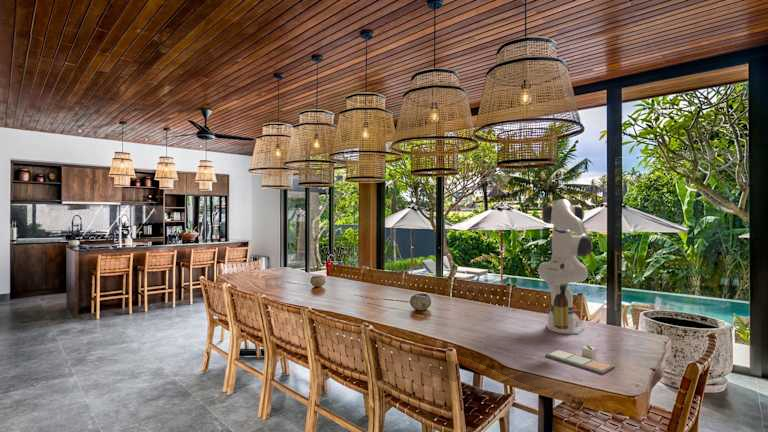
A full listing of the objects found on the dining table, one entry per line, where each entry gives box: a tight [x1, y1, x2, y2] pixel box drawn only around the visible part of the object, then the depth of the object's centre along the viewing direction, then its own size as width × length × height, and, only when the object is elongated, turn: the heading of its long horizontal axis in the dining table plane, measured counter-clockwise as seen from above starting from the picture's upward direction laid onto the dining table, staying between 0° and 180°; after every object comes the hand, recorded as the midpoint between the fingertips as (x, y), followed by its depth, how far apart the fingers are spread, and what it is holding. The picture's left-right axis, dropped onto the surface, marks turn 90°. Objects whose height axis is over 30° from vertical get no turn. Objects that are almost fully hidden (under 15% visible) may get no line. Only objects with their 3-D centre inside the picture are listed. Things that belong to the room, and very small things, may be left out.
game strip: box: [544, 348, 616, 375], centre depth 173 cm, size 12×25×1 cm, turn 38°
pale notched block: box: [581, 345, 597, 360], centre depth 179 cm, size 4×4×5 cm
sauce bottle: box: [554, 284, 568, 329], centre depth 180 cm, size 7×6×20 cm
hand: (561, 293), depth 179 cm, fingers closed on sauce bottle, 4 cm apart
